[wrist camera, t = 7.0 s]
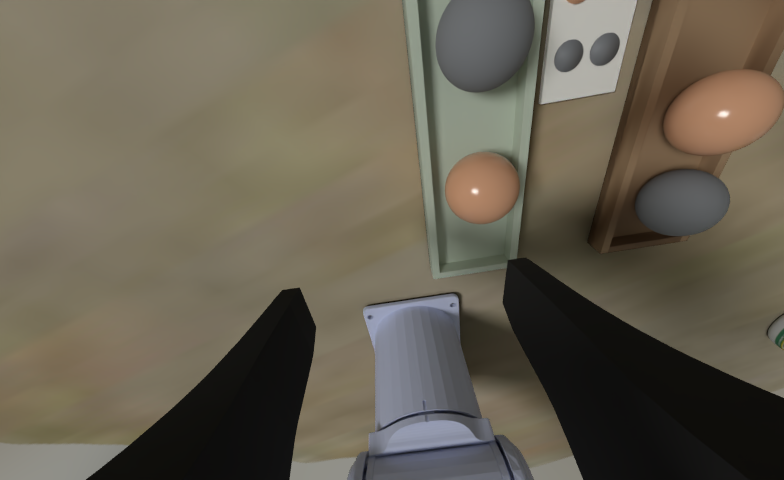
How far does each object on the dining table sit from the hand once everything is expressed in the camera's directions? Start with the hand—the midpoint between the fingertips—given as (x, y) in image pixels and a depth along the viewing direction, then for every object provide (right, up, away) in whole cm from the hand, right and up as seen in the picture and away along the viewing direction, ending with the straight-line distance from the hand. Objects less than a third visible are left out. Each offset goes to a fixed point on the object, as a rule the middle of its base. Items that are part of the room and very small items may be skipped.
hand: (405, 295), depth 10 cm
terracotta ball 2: (+16, +8, +4) cm, 19 cm away
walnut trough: (+16, +10, +6) cm, 20 cm away
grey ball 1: (+3, +11, +2) cm, 11 cm away
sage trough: (+7, +8, +7) cm, 13 cm away
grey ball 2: (+17, +4, +7) cm, 19 cm away
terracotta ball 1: (+4, +5, +6) cm, 9 cm away
